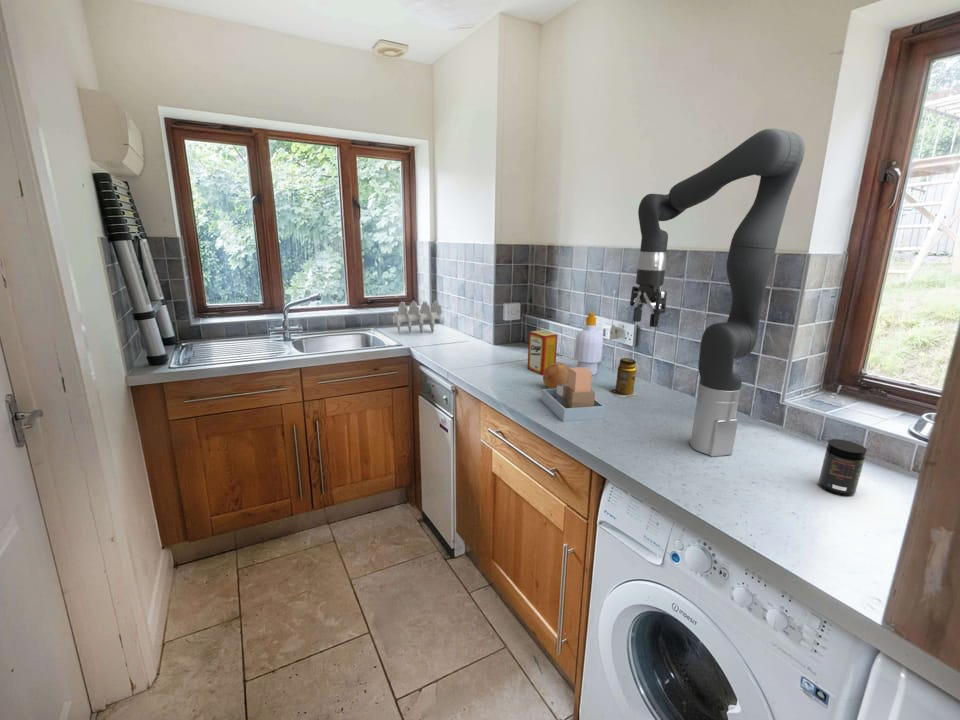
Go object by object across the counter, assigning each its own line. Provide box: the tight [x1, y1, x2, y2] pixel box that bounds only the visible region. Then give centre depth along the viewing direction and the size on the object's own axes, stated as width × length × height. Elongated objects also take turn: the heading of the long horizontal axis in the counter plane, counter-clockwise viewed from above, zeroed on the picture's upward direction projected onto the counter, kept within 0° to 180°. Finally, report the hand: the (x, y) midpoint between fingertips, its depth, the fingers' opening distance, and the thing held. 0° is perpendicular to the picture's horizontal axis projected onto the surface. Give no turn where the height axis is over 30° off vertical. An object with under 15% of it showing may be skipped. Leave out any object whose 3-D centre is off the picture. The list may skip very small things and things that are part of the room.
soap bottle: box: [574, 312, 604, 376], centre depth 181 cm, size 10×10×24 cm
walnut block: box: [562, 386, 596, 408], centre depth 139 cm, size 7×7×8 cm
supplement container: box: [817, 438, 868, 497], centre depth 101 cm, size 7×7×10 cm
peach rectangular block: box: [568, 366, 593, 392], centre depth 137 cm, size 5×5×6 cm
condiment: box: [608, 357, 639, 398], centre depth 160 cm, size 7×8×12 cm
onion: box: [542, 361, 569, 389], centre depth 162 cm, size 10×10×10 cm
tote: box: [541, 388, 607, 423], centre depth 143 cm, size 18×13×4 cm
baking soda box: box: [527, 329, 558, 376], centre depth 183 cm, size 10×6×16 cm
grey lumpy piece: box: [392, 300, 443, 335], centre depth 249 cm, size 18×18×25 cm
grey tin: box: [556, 383, 568, 405], centre depth 147 cm, size 6×6×6 cm
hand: (644, 324), depth 136 cm, fingers open, 8 cm apart
